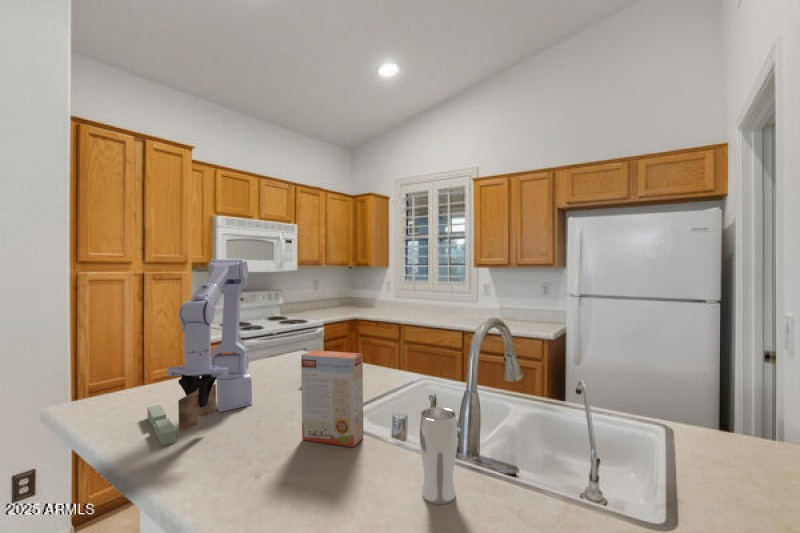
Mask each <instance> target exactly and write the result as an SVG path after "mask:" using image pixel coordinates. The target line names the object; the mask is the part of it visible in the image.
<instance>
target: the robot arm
mask: <svg viewBox="0 0 800 533" xmlns="http://www.w3.org/2000/svg"><path fill="white" fill-rule="evenodd" d="M208 275H209V277H208V279H207V281H206V282H204V283H202V284H200V285H199V287H197V289H196V291H195V293H194V294H193V295H192V297H191V298H190V300H187V301H185V302H183V303H181V305H180V307H179V312H178V319H179V322H180V325H181V332H182V333H183V346H184V350H183V351H184V365H181V366H171V367H167V369H166V371H167V376H166V377H178V376H179V377H181V378H180V379H178V384H179V386H180V387H181V388H182V390H183V392H184V394H185V396H187V395H189V394H191V393H193V392H195V391H197V390H198V391H199V405H200V407H204V406H206V405H207V403H208V398H209V395H210V391H211V389H212V386H213V384H215V382H216V411H217V410H218V412H220V413H221V412H222V413H223V412H226V411H230V410H234V409H235V410H236V409H238V408H243V407H247V406H252V405H253V403H254V402H253V395H252V394H253V385H252V378H251V375H250V374H249V373H248V370H249V364H250V362H249V351H248V348H246V346H244V345H243V344H241V343H240V342H239V340H240V338H239V337H240V322H241V321H240V319H241V318H240V316H241V300H242V299H241V295H242V289H244V288H246V287H247V286H248V279H249V278H248V277H249V266H248V262H247V261H246V260H245V259H244V258H239V259H235V258H233V259H230V258H229V259H226V258H225V259H216V258H212V259H211V261H210V262H209V263H208ZM221 289H222V290H221ZM222 291H223V308H222V326H221V328H222V329H221V343H220V344H218V346H216V347H215V348H214V349H213V350H212V347H211V346H212V345H211V344H212V343H211V340H212V338H211V335H212V334H211V333H212V332H211V325H212V323H213V321H214V320H215V312H216V305H217V303H218V302H219V301H220V298H221V296H222ZM226 353H227V354H226Z"/></svg>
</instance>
